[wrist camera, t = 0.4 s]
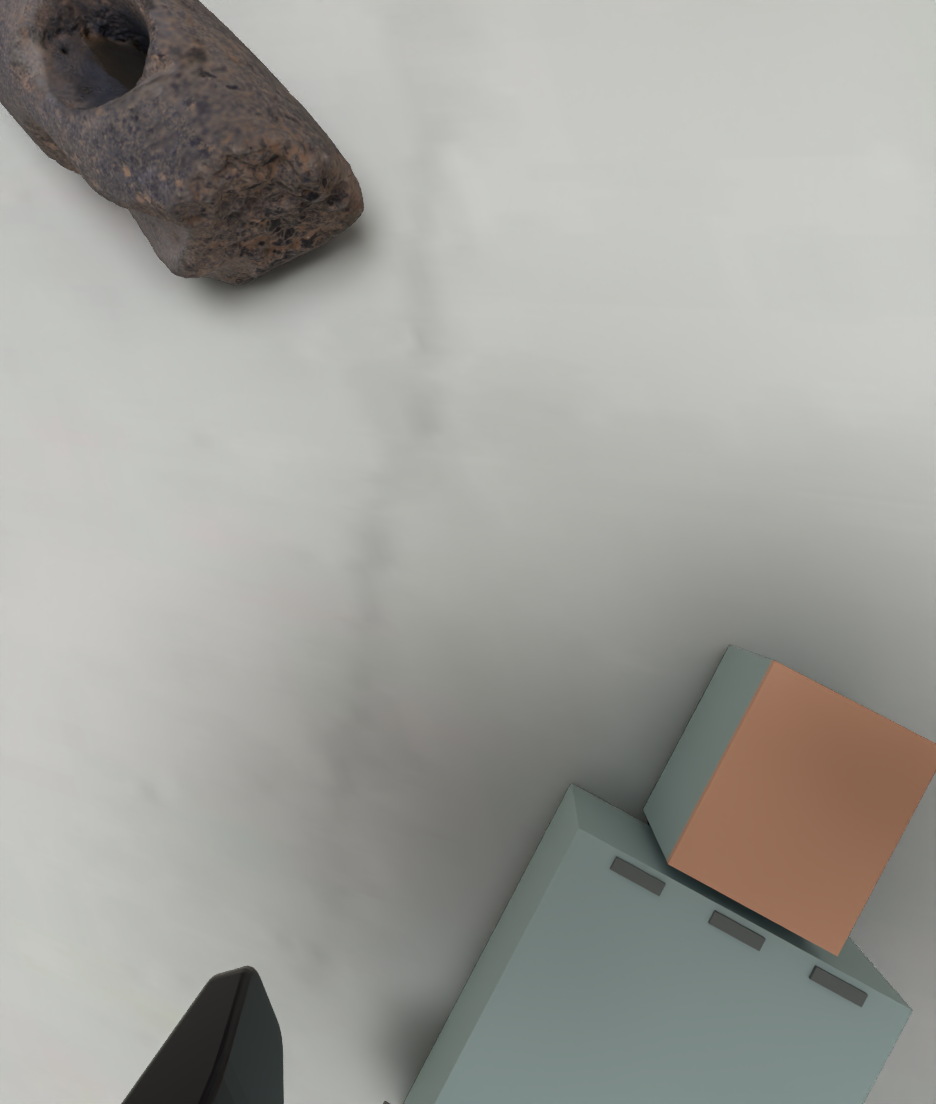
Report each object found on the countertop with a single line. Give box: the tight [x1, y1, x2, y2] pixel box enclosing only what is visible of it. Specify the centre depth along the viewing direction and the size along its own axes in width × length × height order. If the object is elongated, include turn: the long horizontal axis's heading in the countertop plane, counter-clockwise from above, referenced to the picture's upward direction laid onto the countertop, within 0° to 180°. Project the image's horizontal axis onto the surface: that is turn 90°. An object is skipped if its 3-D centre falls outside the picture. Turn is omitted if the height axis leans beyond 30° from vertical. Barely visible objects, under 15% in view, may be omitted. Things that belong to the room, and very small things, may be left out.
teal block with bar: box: [383, 783, 913, 1104], centre depth 19 cm, size 10×10×5 cm
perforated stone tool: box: [0, 0, 364, 285], centre depth 20 cm, size 15×5×7 cm, turn 44°
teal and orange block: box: [643, 645, 936, 957], centre depth 20 cm, size 4×5×4 cm
